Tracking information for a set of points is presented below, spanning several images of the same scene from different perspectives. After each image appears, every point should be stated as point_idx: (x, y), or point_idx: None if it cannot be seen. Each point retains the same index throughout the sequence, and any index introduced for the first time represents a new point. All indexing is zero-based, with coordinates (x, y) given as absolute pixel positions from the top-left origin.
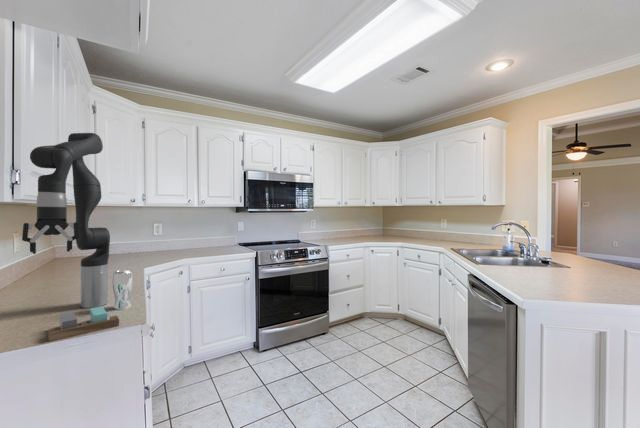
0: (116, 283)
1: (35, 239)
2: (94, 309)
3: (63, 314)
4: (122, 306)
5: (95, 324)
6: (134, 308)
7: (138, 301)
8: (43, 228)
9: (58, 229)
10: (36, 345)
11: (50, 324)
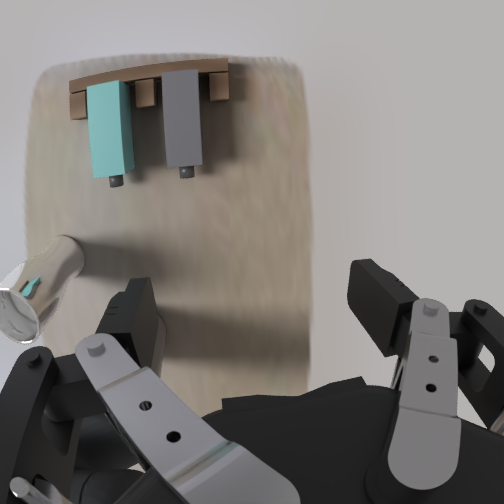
0: (41, 276)
1: (421, 319)
2: (113, 152)
3: (194, 152)
4: (60, 239)
5: (123, 69)
6: (38, 223)
7: None
8: (452, 418)
9: (223, 455)
10: (250, 57)
11: (225, 211)
